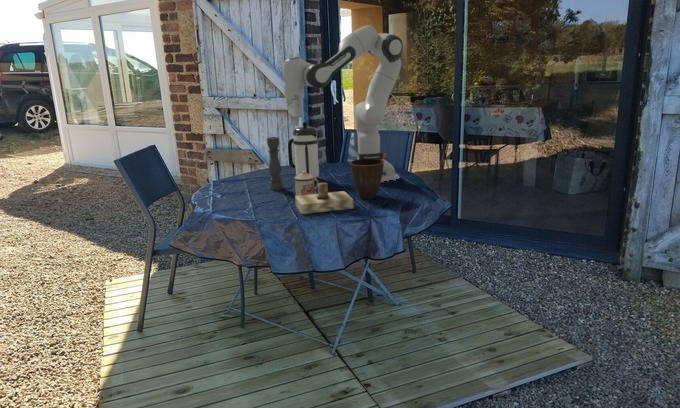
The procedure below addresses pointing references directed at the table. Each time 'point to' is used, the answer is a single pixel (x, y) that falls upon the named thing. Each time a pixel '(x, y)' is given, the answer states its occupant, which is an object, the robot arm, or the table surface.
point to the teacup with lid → (305, 184)
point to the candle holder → (274, 163)
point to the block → (323, 202)
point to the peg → (323, 191)
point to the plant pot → (367, 176)
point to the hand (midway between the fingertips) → (296, 125)
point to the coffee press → (305, 151)
